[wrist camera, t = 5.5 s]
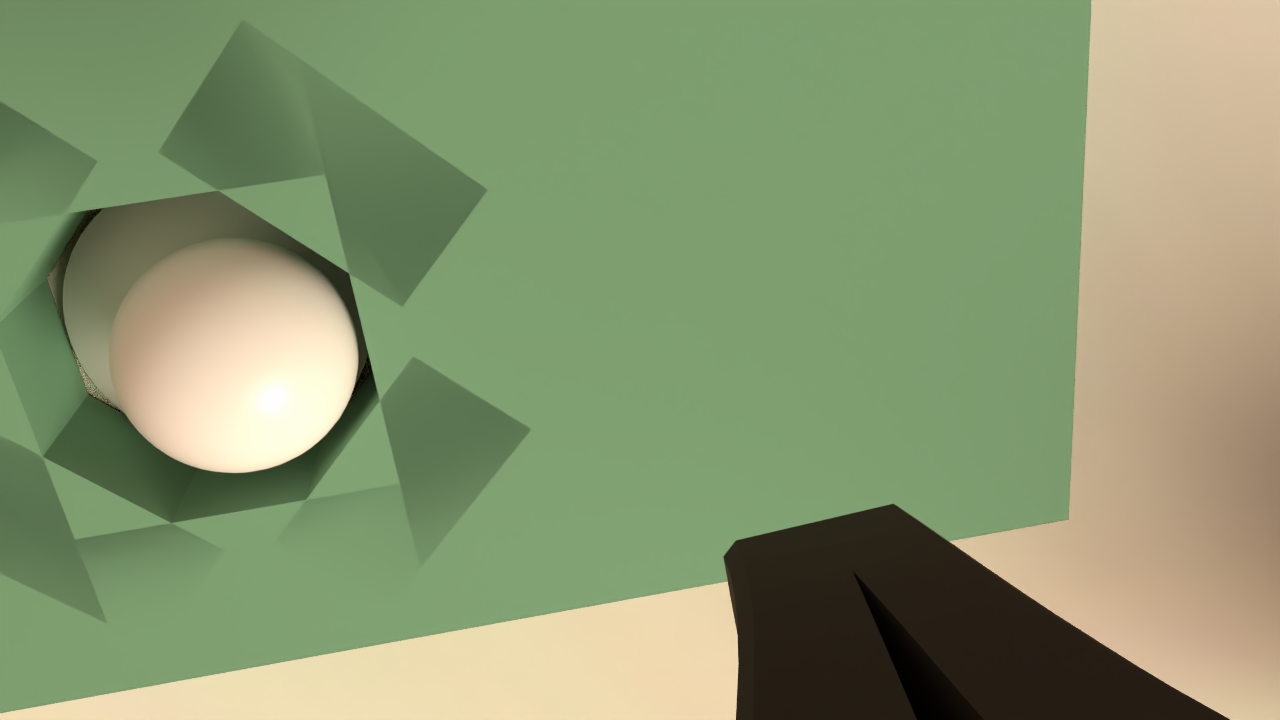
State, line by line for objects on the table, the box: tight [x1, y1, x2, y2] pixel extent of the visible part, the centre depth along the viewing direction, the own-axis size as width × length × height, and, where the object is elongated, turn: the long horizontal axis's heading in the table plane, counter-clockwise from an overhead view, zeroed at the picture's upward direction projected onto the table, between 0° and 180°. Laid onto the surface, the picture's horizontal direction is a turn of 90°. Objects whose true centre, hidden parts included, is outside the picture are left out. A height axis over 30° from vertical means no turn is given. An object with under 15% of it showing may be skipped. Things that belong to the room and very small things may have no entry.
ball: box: [109, 238, 359, 473], centre depth 15 cm, size 3×3×3 cm
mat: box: [0, 0, 1091, 713], centre depth 16 cm, size 17×10×2 cm, turn 96°
